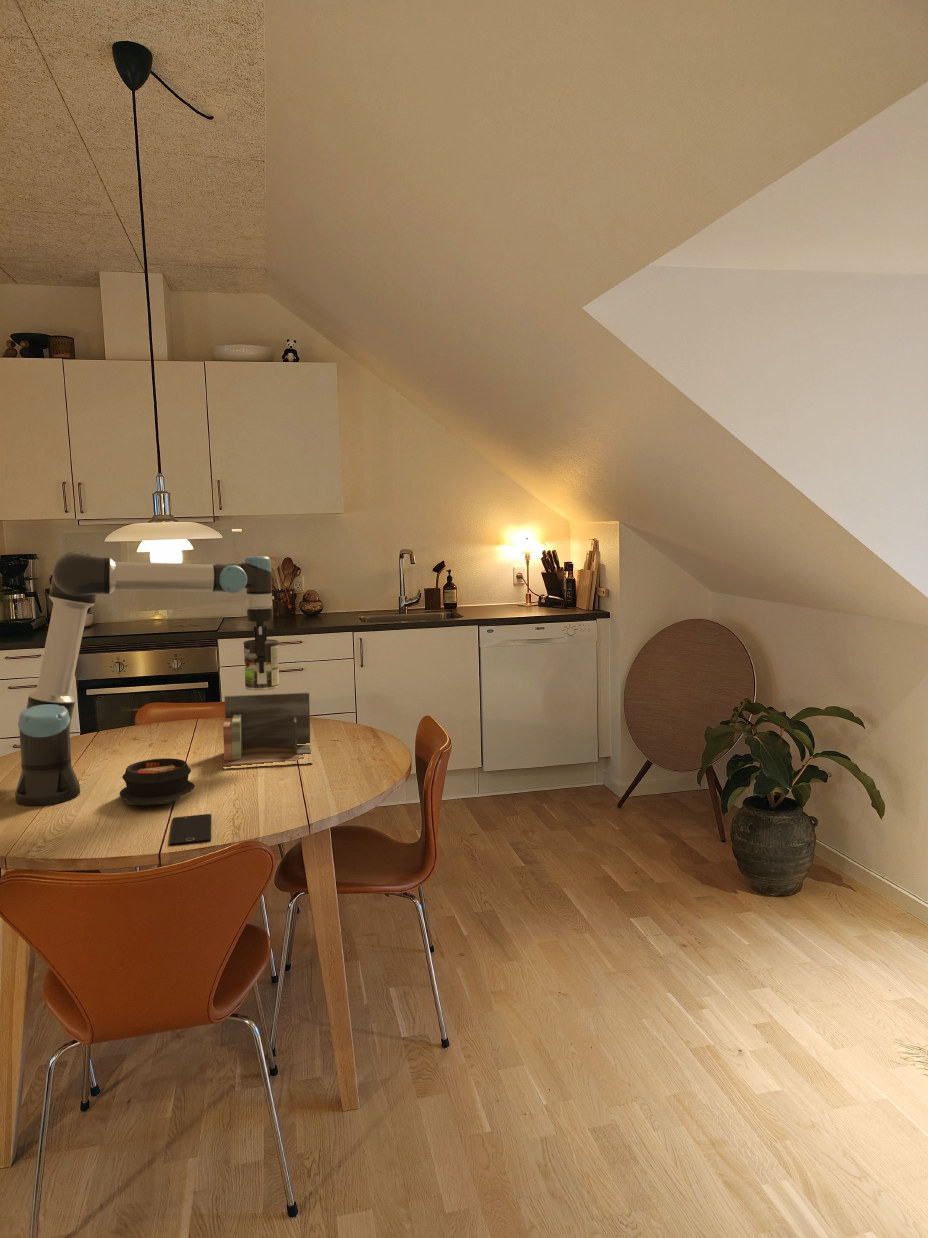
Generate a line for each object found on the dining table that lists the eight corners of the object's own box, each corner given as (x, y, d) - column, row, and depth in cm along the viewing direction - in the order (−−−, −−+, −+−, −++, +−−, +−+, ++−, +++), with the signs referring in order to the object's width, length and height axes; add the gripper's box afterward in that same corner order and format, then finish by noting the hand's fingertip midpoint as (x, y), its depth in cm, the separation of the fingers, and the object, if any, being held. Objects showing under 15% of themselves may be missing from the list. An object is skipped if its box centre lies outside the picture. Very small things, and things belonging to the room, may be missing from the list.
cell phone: (169, 848, 182) (168, 843, 182) (173, 821, 199) (172, 817, 199) (210, 843, 185) (210, 839, 184) (211, 817, 202) (211, 813, 202)
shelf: (312, 764, 247) (311, 704, 245) (222, 769, 241) (220, 709, 239) (310, 747, 266) (309, 692, 264) (226, 752, 261) (224, 695, 259)
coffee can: (257, 691, 243) (255, 644, 242) (238, 687, 250) (236, 641, 249) (286, 686, 251) (285, 640, 249) (267, 683, 258) (265, 638, 256)
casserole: (128, 785, 227) (126, 755, 226) (198, 780, 231) (197, 751, 230) (111, 815, 202) (109, 781, 201) (190, 809, 207) (189, 776, 206)
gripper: (272, 610, 238) (275, 686, 240) (272, 604, 260) (274, 673, 262) (245, 611, 236) (248, 688, 239) (247, 604, 258) (250, 675, 260)
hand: (262, 680), depth 250 cm, fingers closed on coffee can, 10 cm apart
